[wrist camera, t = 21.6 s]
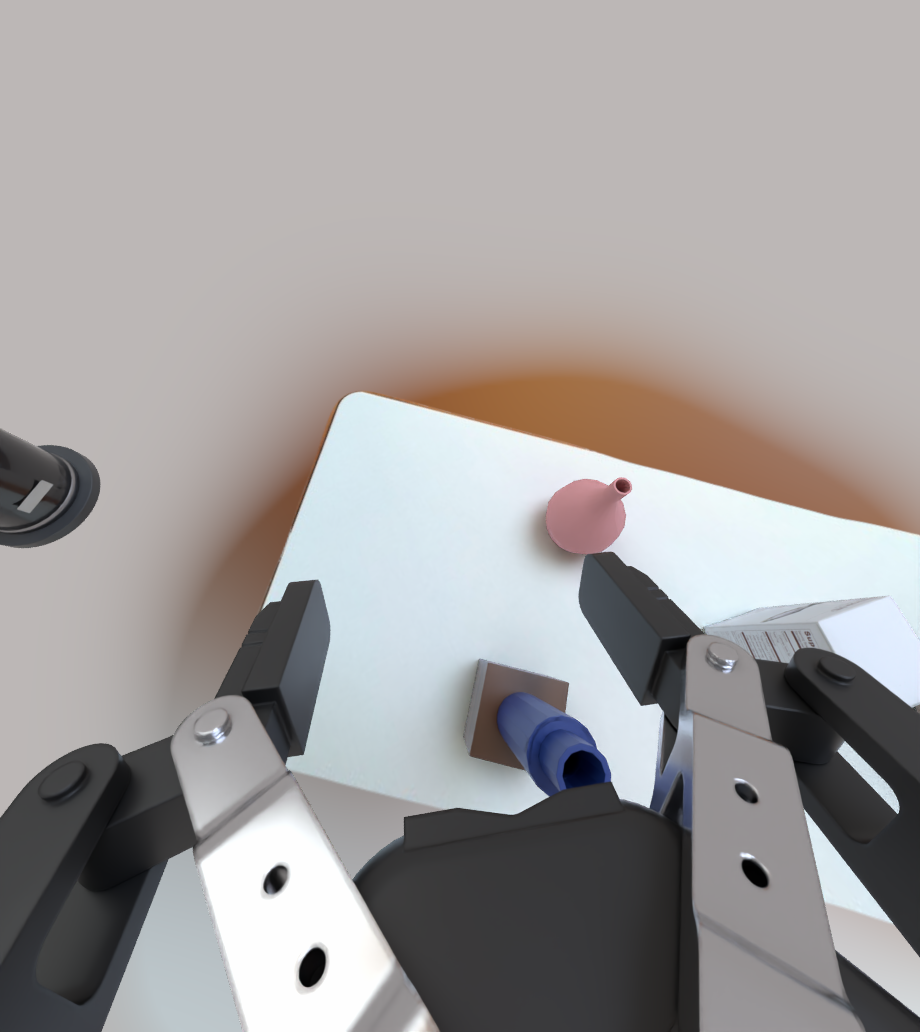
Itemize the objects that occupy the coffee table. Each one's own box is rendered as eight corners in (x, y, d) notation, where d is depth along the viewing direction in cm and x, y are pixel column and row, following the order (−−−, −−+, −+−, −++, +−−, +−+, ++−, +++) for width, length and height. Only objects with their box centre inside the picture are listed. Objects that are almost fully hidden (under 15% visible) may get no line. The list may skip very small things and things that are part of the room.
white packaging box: (757, 606, 40) (895, 592, 28) (793, 677, 38) (958, 694, 26) (699, 625, 39) (817, 619, 27) (733, 699, 37) (876, 728, 25)
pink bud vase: (559, 483, 43) (605, 428, 32) (615, 521, 42) (683, 477, 31) (524, 534, 41) (560, 494, 30) (582, 575, 40) (642, 549, 29)
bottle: (491, 740, 29) (535, 813, 17) (502, 686, 30) (550, 718, 18) (540, 753, 29) (620, 837, 17) (549, 699, 30) (629, 739, 18)
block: (463, 736, 34) (469, 756, 29) (479, 658, 37) (488, 662, 31) (536, 755, 34) (556, 778, 29) (548, 676, 37) (569, 682, 31)
